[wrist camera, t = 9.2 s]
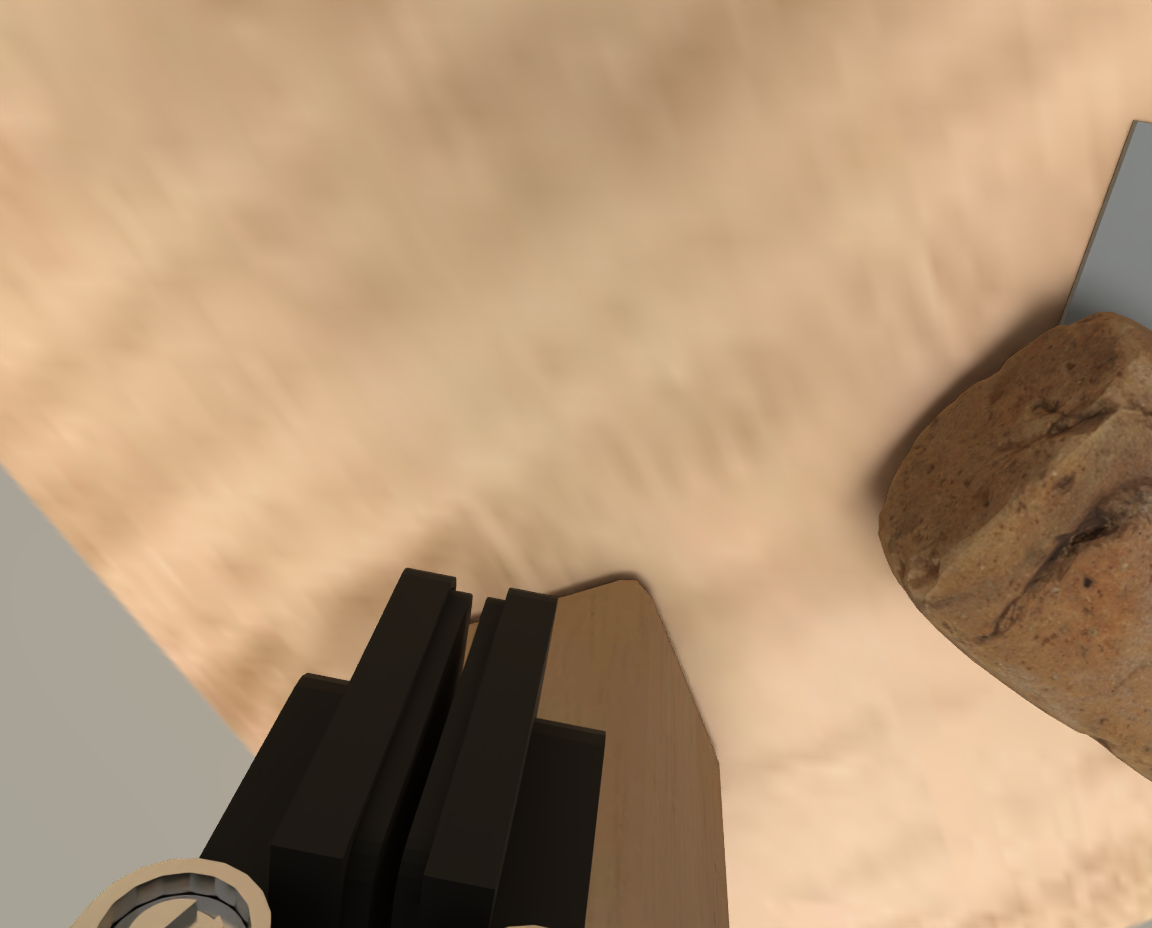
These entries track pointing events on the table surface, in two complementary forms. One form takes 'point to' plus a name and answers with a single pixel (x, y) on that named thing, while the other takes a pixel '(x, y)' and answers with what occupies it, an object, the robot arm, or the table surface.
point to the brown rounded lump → (1043, 528)
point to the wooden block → (639, 762)
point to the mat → (1120, 242)
